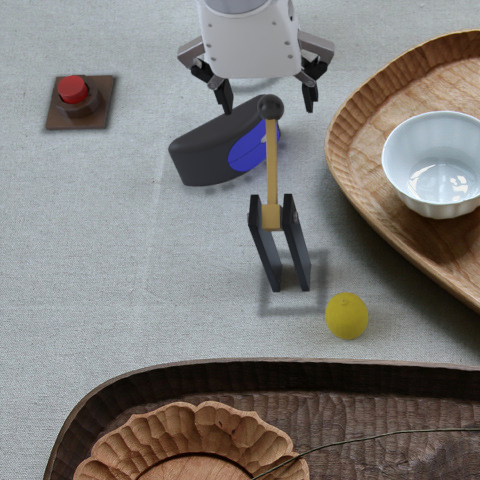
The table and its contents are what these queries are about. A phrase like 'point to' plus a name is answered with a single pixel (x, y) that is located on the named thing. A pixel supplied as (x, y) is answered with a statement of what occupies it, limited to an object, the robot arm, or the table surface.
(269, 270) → the bracket
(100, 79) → the button base
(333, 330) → the lemon
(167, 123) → the table surface
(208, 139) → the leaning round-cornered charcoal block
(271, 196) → the switch lever
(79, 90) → the button
